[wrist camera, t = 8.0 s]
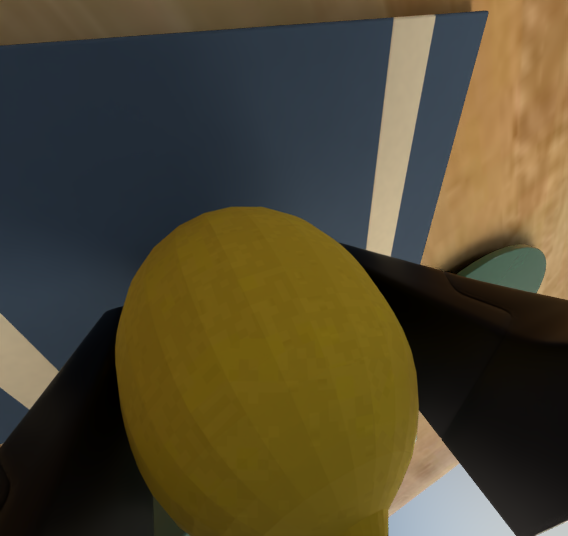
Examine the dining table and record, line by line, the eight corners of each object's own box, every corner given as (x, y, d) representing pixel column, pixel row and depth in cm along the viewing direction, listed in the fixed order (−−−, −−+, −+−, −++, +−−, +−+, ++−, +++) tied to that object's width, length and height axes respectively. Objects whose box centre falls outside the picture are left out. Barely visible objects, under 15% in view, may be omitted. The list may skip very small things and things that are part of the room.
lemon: (72, 223, 7) (-222, 991, 1) (262, 132, 8) (669, 334, 2) (185, 338, 11) (250, 673, 5) (308, 269, 11) (498, 486, 6)
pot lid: (364, 412, 25) (410, 481, 21) (391, 283, 16) (483, 360, 12) (487, 347, 29) (545, 393, 25) (565, 214, 20) (678, 253, 16)
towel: (-15, 436, 10) (-22, 454, 10) (-608, 92, 4) (-714, 95, 3) (408, 272, 16) (417, 278, 16) (472, 12, 9) (490, 10, 9)
